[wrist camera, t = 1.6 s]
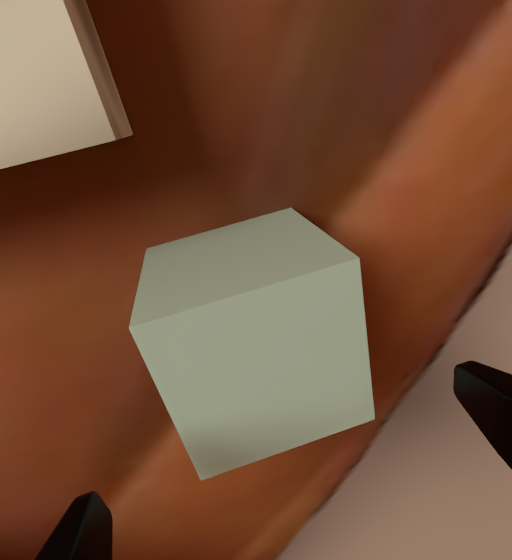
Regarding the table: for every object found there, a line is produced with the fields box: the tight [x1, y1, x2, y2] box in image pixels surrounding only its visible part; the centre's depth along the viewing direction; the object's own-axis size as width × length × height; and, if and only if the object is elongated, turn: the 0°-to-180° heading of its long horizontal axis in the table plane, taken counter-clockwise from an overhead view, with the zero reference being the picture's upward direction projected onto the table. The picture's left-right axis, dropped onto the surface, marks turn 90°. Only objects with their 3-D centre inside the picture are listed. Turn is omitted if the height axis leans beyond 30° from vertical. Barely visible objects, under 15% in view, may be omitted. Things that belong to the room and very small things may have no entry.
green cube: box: [129, 208, 375, 480], centre depth 13 cm, size 6×6×6 cm
